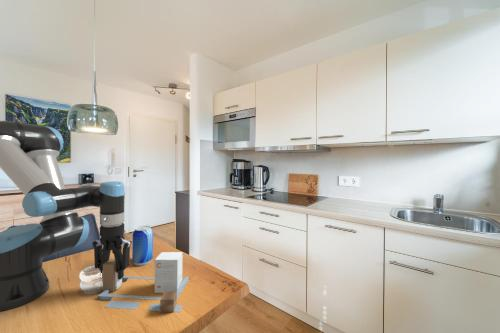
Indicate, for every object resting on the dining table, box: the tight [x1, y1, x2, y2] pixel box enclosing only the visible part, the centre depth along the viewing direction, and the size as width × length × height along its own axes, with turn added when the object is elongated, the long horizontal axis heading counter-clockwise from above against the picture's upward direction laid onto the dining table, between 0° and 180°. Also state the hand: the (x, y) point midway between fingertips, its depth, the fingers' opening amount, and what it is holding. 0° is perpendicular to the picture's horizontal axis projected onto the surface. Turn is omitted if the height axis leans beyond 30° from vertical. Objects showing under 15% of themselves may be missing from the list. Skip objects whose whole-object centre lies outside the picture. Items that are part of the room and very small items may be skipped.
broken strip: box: [104, 300, 184, 313], centre depth 66 cm, size 24×3×1 cm, turn 87°
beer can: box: [131, 225, 154, 267], centre depth 96 cm, size 8×8×16 cm
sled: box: [97, 258, 190, 301], centre depth 75 cm, size 29×12×10 cm, turn 87°
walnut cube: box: [159, 291, 178, 314], centre depth 65 cm, size 4×4×4 cm
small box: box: [154, 251, 183, 294], centre depth 76 cm, size 8×6×13 cm
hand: (112, 286), depth 76 cm, fingers closed on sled, 4 cm apart
